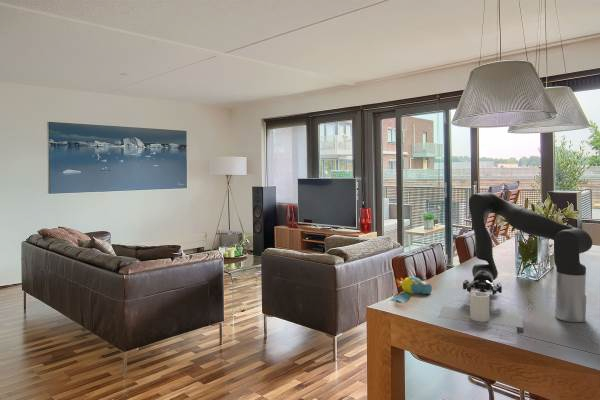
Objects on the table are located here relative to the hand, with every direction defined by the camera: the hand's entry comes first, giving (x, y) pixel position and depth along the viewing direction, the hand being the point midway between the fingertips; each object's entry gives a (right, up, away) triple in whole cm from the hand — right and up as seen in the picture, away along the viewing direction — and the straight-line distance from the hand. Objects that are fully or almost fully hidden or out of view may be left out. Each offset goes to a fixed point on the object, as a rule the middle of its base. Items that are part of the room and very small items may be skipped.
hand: (481, 291), depth 168 cm
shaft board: (-3, -9, -6) cm, 12 cm away
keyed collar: (-4, -8, -9) cm, 13 cm away
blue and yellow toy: (-19, -8, +27) cm, 34 cm away
